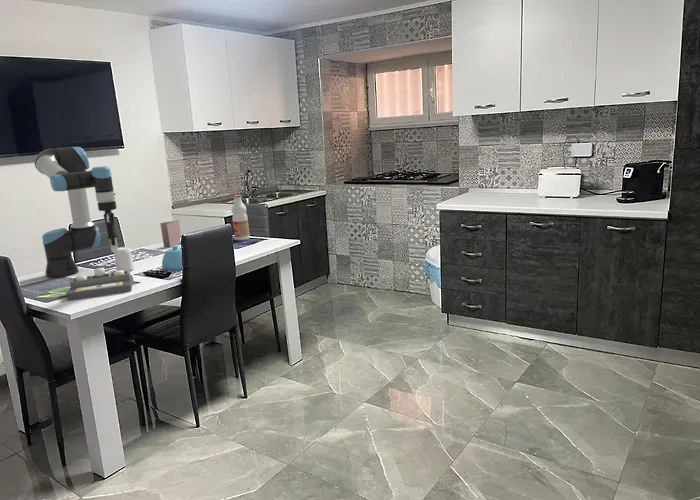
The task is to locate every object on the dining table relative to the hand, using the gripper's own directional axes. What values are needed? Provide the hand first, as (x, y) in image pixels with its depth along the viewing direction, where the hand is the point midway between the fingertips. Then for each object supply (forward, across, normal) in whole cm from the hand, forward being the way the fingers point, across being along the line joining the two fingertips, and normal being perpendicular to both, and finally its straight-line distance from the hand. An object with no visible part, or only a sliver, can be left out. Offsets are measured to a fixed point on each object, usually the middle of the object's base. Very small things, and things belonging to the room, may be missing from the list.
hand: (115, 251), depth 244 cm
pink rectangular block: (+18, +80, -25) cm, 85 cm away
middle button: (+10, 0, +8) cm, 13 cm away
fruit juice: (+17, +73, -67) cm, 100 cm away
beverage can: (+17, +30, 0) cm, 34 cm away
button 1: (+13, 0, +16) cm, 20 cm away
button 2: (+13, 0, 0) cm, 13 cm away
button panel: (+17, -4, +8) cm, 19 cm away
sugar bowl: (+17, +20, -26) cm, 37 cm away
